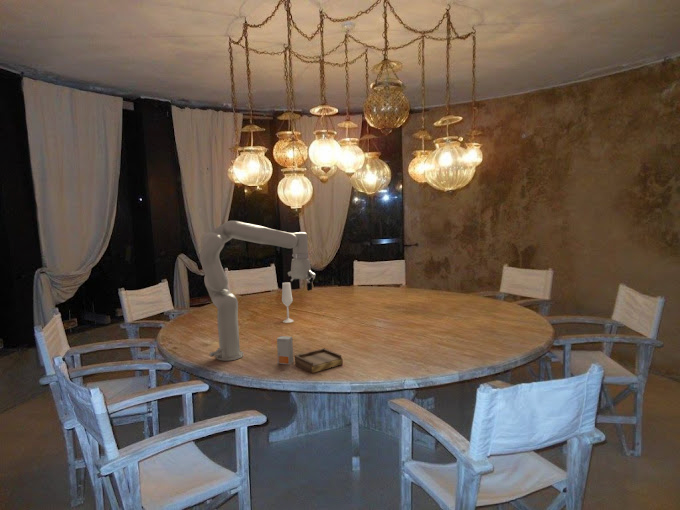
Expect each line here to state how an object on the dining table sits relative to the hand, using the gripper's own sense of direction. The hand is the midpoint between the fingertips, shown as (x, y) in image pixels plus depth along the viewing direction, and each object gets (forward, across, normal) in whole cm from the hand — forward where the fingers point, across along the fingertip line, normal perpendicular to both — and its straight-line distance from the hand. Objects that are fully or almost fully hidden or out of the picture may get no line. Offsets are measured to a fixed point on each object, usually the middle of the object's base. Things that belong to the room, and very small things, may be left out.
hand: (302, 289), depth 240 cm
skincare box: (+29, +11, -28) cm, 41 cm away
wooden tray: (+28, +26, -23) cm, 45 cm away
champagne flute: (+28, -37, +32) cm, 56 cm away
